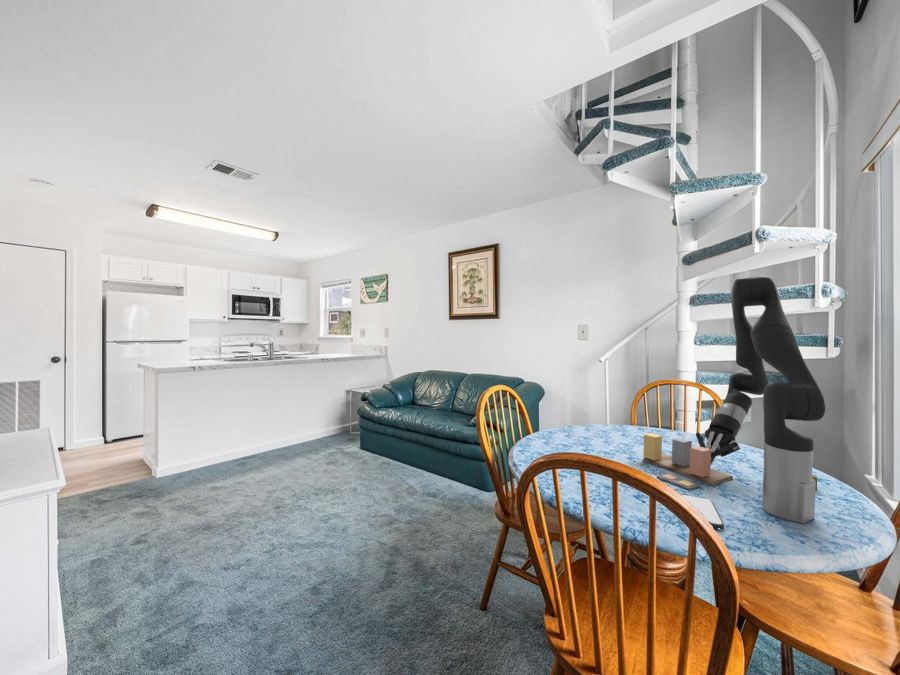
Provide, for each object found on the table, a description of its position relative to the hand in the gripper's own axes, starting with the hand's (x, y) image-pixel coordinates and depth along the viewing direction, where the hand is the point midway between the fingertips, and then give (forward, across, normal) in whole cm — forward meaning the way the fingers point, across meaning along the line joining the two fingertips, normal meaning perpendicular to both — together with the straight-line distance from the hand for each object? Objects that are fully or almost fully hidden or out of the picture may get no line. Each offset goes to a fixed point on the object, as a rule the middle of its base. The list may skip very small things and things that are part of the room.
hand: (705, 463), depth 119 cm
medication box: (-12, +15, +19) cm, 27 cm away
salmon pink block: (+4, 0, 0) cm, 4 cm away
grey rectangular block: (+1, -8, +3) cm, 9 cm away
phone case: (+22, +13, -15) cm, 29 cm away
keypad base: (+3, -7, +4) cm, 8 cm away
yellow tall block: (+4, -16, 0) cm, 17 cm away
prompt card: (+12, -1, -6) cm, 13 cm away
